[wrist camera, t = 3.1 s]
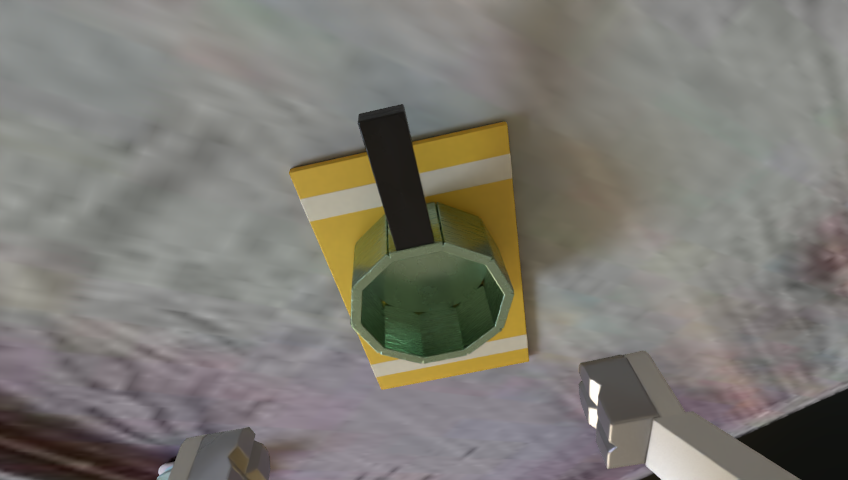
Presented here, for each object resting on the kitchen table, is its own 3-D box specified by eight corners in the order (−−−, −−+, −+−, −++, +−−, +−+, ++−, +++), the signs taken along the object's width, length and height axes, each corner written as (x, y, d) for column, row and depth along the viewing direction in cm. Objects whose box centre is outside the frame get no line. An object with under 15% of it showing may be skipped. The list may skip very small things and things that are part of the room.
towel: (289, 168, 25) (288, 172, 24) (505, 120, 24) (508, 124, 24) (381, 384, 36) (381, 390, 36) (527, 356, 36) (529, 361, 35)
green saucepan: (288, 106, 22) (271, 142, 19) (474, 64, 22) (492, 92, 18) (372, 324, 32) (372, 374, 28) (504, 297, 31) (520, 345, 28)
